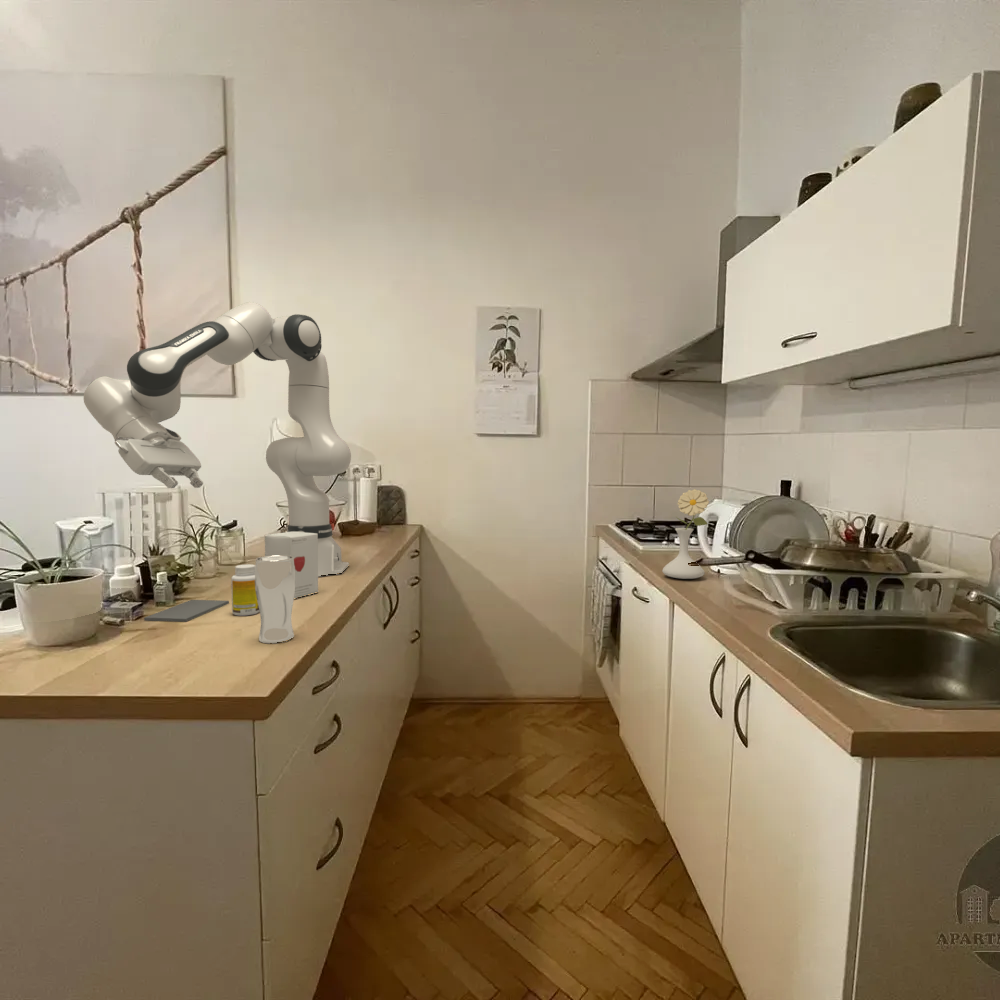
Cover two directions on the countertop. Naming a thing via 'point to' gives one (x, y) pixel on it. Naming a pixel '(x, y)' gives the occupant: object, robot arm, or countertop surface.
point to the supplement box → (297, 557)
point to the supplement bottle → (244, 591)
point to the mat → (186, 610)
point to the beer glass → (275, 596)
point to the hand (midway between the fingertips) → (187, 486)
